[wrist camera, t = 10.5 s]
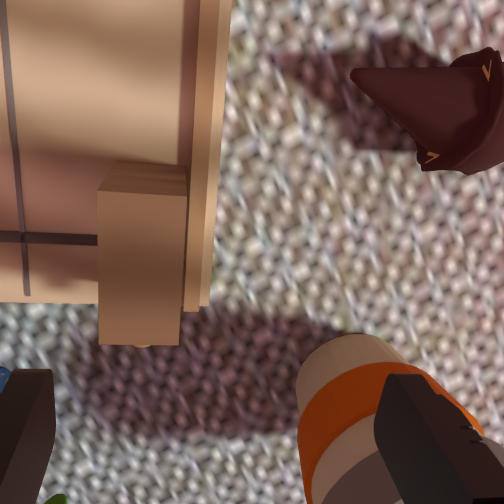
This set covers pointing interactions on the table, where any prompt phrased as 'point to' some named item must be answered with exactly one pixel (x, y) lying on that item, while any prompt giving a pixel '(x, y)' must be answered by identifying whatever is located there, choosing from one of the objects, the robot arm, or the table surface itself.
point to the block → (141, 253)
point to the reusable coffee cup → (351, 420)
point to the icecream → (446, 109)
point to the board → (103, 131)
